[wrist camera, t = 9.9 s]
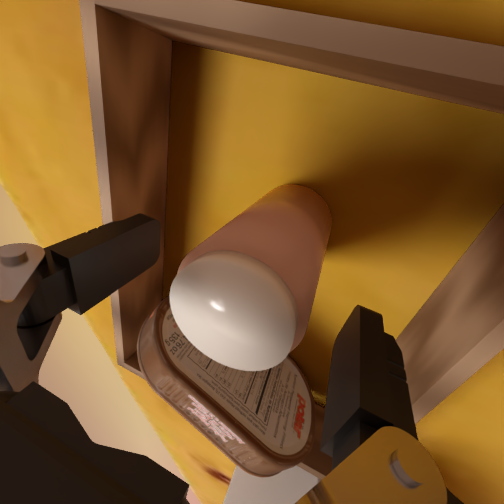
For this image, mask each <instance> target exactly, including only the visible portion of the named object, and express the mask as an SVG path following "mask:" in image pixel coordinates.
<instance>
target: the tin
mask: <svg viewBox="0 0 504 504" xmlns="http://www.w3.org/2000/svg"><path fill="white" fill-rule="evenodd" d="M137 356H138V362H139V366H140V369H141V372H142V374H143V376H144V378H145V380H146V381H147V383H148V384H149V386H150V387H151V388H152V389H153V390H154V391H155V392H156V393H157V394H158V395H159V396H160V397H161V398H162V399H164V400H165V401H166V402H167V403H168V404H169V405H170V406H171V407H173V408H174V409H175V410H176V411H177V412H178V413H179V414H180V415H181V416H183V417H184V418H185V419H186V420H187V421H188V422H189V423H190V424H192V425H193V426H194V427H195V428H196V429H197V430H198V431H199V432H201V433H202V434H203V435H204V436H205V437H206V438H207V439H208V440H209V441H211V442H212V443H213V444H214V445H215V446H216V447H217V448H218V449H219V450H220V451H221V452H223V453H224V454H225V455H226V456H227V457H228V458H229V459H230V460H231V461H232V462H233V463H234V464H236V465H237V466H238V467H239V468H240V469H241V470H243V471H245V472H246V473H248V474H250V475H253V476H257V477H263V478H264V477H271V476H274V475H277V474H279V473H280V472H282V471H284V470H287V469H289V468H292V467H294V466H296V465H298V464H300V463H301V462H302V461H303V460H304V459H305V458H306V457H307V456H308V455H309V453H310V451H311V449H312V445H313V441H314V436H315V424H316V422H315V403H314V399H313V396H312V393H311V390H310V387H309V385H308V383H307V380H306V378H305V377H304V375H303V373H302V371H301V370H300V368H299V367H298V366H297V364H296V363H295V362H294V361H293V359H292V358H291V357H290V356H289V355H287V357H286V358H285V359H284V360H283V361H282V362H281V363H279V364H278V365H276V366H274V367H272V368H269V369H266V370H261V371H244V370H238V369H234V368H231V367H228V366H225V365H223V364H221V363H218V362H216V361H215V360H213V359H211V358H209V357H208V356H206V355H205V354H203V353H202V352H201V351H200V350H198V349H197V348H196V347H195V346H194V345H193V344H192V343H191V342H190V341H189V340H188V339H187V338H186V336H185V335H184V334H183V333H182V331H181V330H180V328H179V326H178V325H177V323H176V321H175V319H174V316H173V314H172V310H171V306H170V295H169V296H168V297H166V298H165V299H164V300H163V301H162V302H161V303H160V304H159V305H158V306H157V307H156V309H155V310H154V311H153V312H152V313H151V314H150V315H149V316H148V317H147V318H146V320H145V321H144V323H143V325H142V327H141V329H140V333H139V336H138V341H137Z"/></svg>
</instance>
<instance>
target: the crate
mask: <svg viewBox="0 0 504 504" xmlns="http://www.w3.org/2000/svg"><path fill="white" fill-rule="evenodd" d="M79 3H80V12H81V22H82V31H83V41H84V50H85V60H86V69H87V78H88V88H89V97H90V107H91V116H92V126H93V135H94V145H95V154H96V164H97V173H98V183H99V192H100V202H101V211H102V221H103V225H105V224H107V223H110V222H114V221H120V220H124V219H126V218H129V217H131V216H134V215H136V214H139V213H142V214H145V215H147V216H149V217H152V218H154V219H156V220H158V221H159V222H160V224H161V238H160V255H159V258H158V260H157V262H156V263H155V264H154V265H153V266H152V267H150V268H149V269H147V270H146V271H145V272H143V273H142V274H140V275H139V276H137V277H136V278H134V279H133V280H131V281H130V282H128V283H127V284H126V285H124V286H123V287H121V288H120V289H118V290H117V291H115V292H114V293H112V294H111V295H110V296H111V306H112V315H113V325H114V334H115V344H116V353H117V363H118V365H120V366H122V367H124V368H125V369H127V370H129V371H131V372H133V373H134V374H136V375H138V376H140V377H141V378H143V379H145V378H144V376H143V374H142V372H141V369H140V366H139V362H138V356H137V341H138V336H139V333H140V329H141V327H142V325H143V323H144V321H145V320H146V318H147V317H148V316H149V315H150V314H151V313H152V312H153V311H154V310H155V309H156V307H157V306H158V305H159V304H160V303H161V302H162V286H163V261H164V235H165V210H166V185H167V159H168V134H169V108H170V83H171V58H172V41H177V42H181V43H186V44H190V45H195V46H199V47H204V48H208V49H213V50H217V51H222V52H226V53H231V54H235V55H240V56H244V57H249V58H253V59H258V60H263V61H267V62H272V63H276V64H281V65H285V66H290V67H294V68H299V69H303V70H308V71H312V72H317V73H321V74H326V75H330V76H335V77H339V78H344V79H348V80H353V81H357V82H362V83H366V84H371V85H375V86H380V87H385V88H389V89H394V90H398V91H403V92H407V93H412V94H416V95H421V96H425V97H430V98H434V99H439V100H443V101H448V102H452V103H457V104H461V105H466V106H470V107H475V108H479V109H484V110H488V111H493V112H497V113H502V114H504V46H498V45H492V44H486V43H480V42H475V41H469V40H463V39H457V38H451V37H445V36H440V35H434V34H428V33H422V32H416V31H411V30H405V29H399V28H393V27H387V26H381V25H376V24H370V23H364V22H358V21H352V20H346V19H341V18H335V17H329V16H323V15H317V14H311V13H306V12H300V11H294V10H288V9H282V8H276V7H271V6H265V5H259V4H253V3H247V2H241V1H236V0H79ZM396 342H397V344H398V346H399V347H400V349H401V351H402V355H403V360H404V366H405V367H404V370H405V371H406V377H407V381H406V383H408V388H409V394H410V399H411V405H412V410H413V416H414V422H415V424H416V423H417V422H418V421H419V420H420V419H422V418H423V417H424V416H425V415H426V414H427V413H429V412H430V411H431V410H432V409H433V408H434V407H436V406H437V405H438V404H439V403H440V402H442V401H443V400H444V399H445V398H446V397H447V396H449V395H450V394H451V393H452V392H453V391H454V390H456V389H457V388H458V387H459V386H460V385H461V384H463V383H464V382H465V381H466V380H467V379H468V378H470V377H471V376H472V375H473V374H474V373H475V372H477V371H478V370H479V369H480V368H481V367H482V366H484V365H485V364H486V363H487V362H488V361H489V360H491V359H492V358H493V357H494V356H495V355H496V354H498V353H499V352H500V351H501V350H502V349H504V204H503V205H502V207H501V208H500V209H499V210H498V212H497V213H496V214H495V215H494V217H493V218H492V219H491V220H490V222H489V223H488V224H487V226H486V227H485V228H484V229H483V231H482V232H481V233H480V234H479V236H478V237H477V238H476V239H475V241H474V242H473V243H472V244H471V246H470V247H469V248H468V249H467V251H466V252H465V253H464V255H463V256H462V257H461V258H460V260H459V261H458V262H457V263H456V265H455V266H454V267H453V268H452V270H451V271H450V272H449V273H448V275H447V276H446V277H445V278H444V280H443V281H442V282H441V284H440V285H439V286H438V287H437V289H436V290H435V291H434V292H433V294H432V295H431V296H430V297H429V299H428V300H427V301H426V302H425V304H424V305H423V306H422V307H421V309H420V310H419V311H418V313H417V314H416V315H415V316H414V318H413V319H412V320H411V321H410V323H409V324H408V325H407V326H406V328H405V329H404V330H403V331H402V333H401V334H400V335H399V337H398V338H397V339H396ZM324 415H325V408H323V407H321V406H319V405H317V404H315V422H316V424H315V436H314V441H313V445H312V449H311V451H310V453H309V455H308V456H307V457H306V458H305V459H304V460H303V461H302V462H301V463H300V464H298V465H296V466H298V467H300V468H302V469H303V470H305V471H307V472H309V473H310V474H312V475H314V476H316V477H317V478H319V479H321V480H322V479H323V478H324V477H326V476H327V475H328V474H329V473H330V472H331V469H332V457H331V456H329V455H327V454H325V453H323V452H322V451H320V446H321V438H322V430H323V423H324Z"/></svg>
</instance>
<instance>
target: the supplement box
mask: <svg viewBox="0 0 504 504" xmlns="http://www.w3.org/2000/svg"><path fill="white" fill-rule="evenodd" d="M320 481H321V479H319V478H317V477H316V476H314V475H312V474H310V473H309V472H307V471H305V470H303V469H302V468H300V467H298V466H294V467H292V468H289V469H287V470H284V471H282V472H280V473H279V474H277V475H274V476H271V477H264V478H263V477H257V476H253V475H250V474H248V473H246V472H245V471H243V470H241V469H240V468H239V467H238V466H237V465H236V468H235V471H234V474H233V476H232V479H231V482H230V485H229V488H228V491H227V494H226V496H225V499H224V502H223V504H295V503H296V502H297V501H298V500H299V499H300V498H301V497H302V496H304V495H305V494H306V493H307V492H308V491H309V490H310V489H312V488H313V487H314V486H315V485H316V484H318V483H319V482H320Z"/></svg>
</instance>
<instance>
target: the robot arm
mask: <svg viewBox="0 0 504 504" xmlns="http://www.w3.org/2000/svg"><path fill="white" fill-rule="evenodd" d="M160 238H161V224H160V222H159V221H158V220H156V219H154V218H152V217H149V216H147V215H145V214H142V213H139V214H136V215H134V216H131V217H129V218H126V219H124V220H120V221H114V222H110V223H107V224H105V225H102V226H100V227H98V229H97V228H94V229H92V230H89V231H88V232H87V233H86V232H84V233H82V234H79V235H77V236H74V237H72V238H69V239H67V240H64V241H62V242H59V243H56V244H54V245H51V246H49V247H46V248H44V249H43V248H42V247H40V246H38V245H34V244H28V243H18V244H9V245H4V246H1V247H0V504H190V503H189V502H188V501H187V499H186V496H187V492H188V488H189V484H187V483H186V482H184V481H183V480H181V479H180V478H178V477H177V476H175V475H174V474H172V473H171V472H169V471H168V470H166V469H165V468H163V467H162V466H160V465H159V464H157V463H156V462H154V461H153V460H151V459H150V458H148V457H147V456H144V455H140V454H136V453H132V452H128V451H124V450H119V449H115V448H111V447H107V446H103V445H99V444H96V443H94V442H92V440H91V439H90V438H89V436H88V435H87V433H86V432H85V430H84V429H83V427H82V426H81V424H80V422H79V421H78V419H77V418H76V416H75V415H74V413H73V412H72V410H71V409H70V407H69V405H68V404H67V403H66V402H64V401H63V400H61V399H60V398H58V397H57V396H55V395H54V394H52V393H51V392H49V391H48V390H46V389H45V388H43V387H42V386H40V385H39V384H38V376H39V370H40V367H41V364H42V362H43V360H44V358H45V356H46V353H47V351H48V349H49V347H50V344H51V342H52V340H53V337H54V335H55V333H56V331H57V328H58V326H59V324H60V322H61V319H62V313H61V312H62V311H64V310H65V309H67V308H69V309H71V310H73V311H75V312H76V313H78V314H80V315H82V314H83V313H85V312H86V311H87V310H89V309H90V308H92V307H93V306H95V305H96V304H98V303H99V302H101V301H102V300H104V299H105V298H107V297H108V296H109V295H111V294H112V293H114V292H115V291H117V290H118V289H120V288H121V287H123V286H124V285H126V284H127V283H128V282H130V281H131V280H133V279H134V278H136V277H137V276H139V275H140V274H142V273H143V272H145V271H146V270H147V269H149V268H150V267H152V266H153V265H154V264H155V263H156V262H157V260H158V258H159V255H160ZM404 367H405V366H404V360H403V355H402V351H401V349H400V347H399V346H398V344H397V342H396V340H395V339H394V337H393V336H392V335H389V334H387V333H385V332H384V326H383V318H382V315H381V314H379V313H377V312H375V311H372V310H370V309H367V308H365V307H363V306H360V305H357V306H356V307H355V308H354V310H353V311H352V313H351V315H350V316H349V318H348V319H347V321H346V323H345V324H344V326H343V327H342V329H341V331H340V332H339V334H338V336H337V338H336V340H335V343H334V347H333V351H332V359H331V367H330V375H329V383H328V391H327V399H326V407H325V415H324V423H323V430H322V438H321V446H320V451H322V452H323V453H325V454H327V455H329V456H331V457H332V469H331V472H330V473H329V474H328V475H327V476H326V477H324V478H323V479H322V480H321V481H320V482H319V483H318V484H316V485H315V486H314V487H313V488H312V489H310V490H309V491H308V492H307V493H306V494H305V495H304V496H302V497H301V498H300V499H299V500H298V501H297V502H296V503H295V504H464V503H462V502H461V501H460V500H459V499H458V498H457V497H455V496H454V495H453V494H452V493H451V492H450V491H449V490H448V489H447V488H446V486H445V482H444V479H443V476H442V474H441V472H440V470H439V468H438V466H437V464H436V462H435V461H434V459H433V458H432V456H431V455H430V454H429V452H428V451H427V450H426V449H425V447H424V446H423V445H422V444H421V443H420V442H419V441H418V438H417V433H416V427H415V422H414V416H413V410H412V405H411V399H410V394H409V388H408V383H406V381H407V377H406V371H405V370H404Z"/></svg>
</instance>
